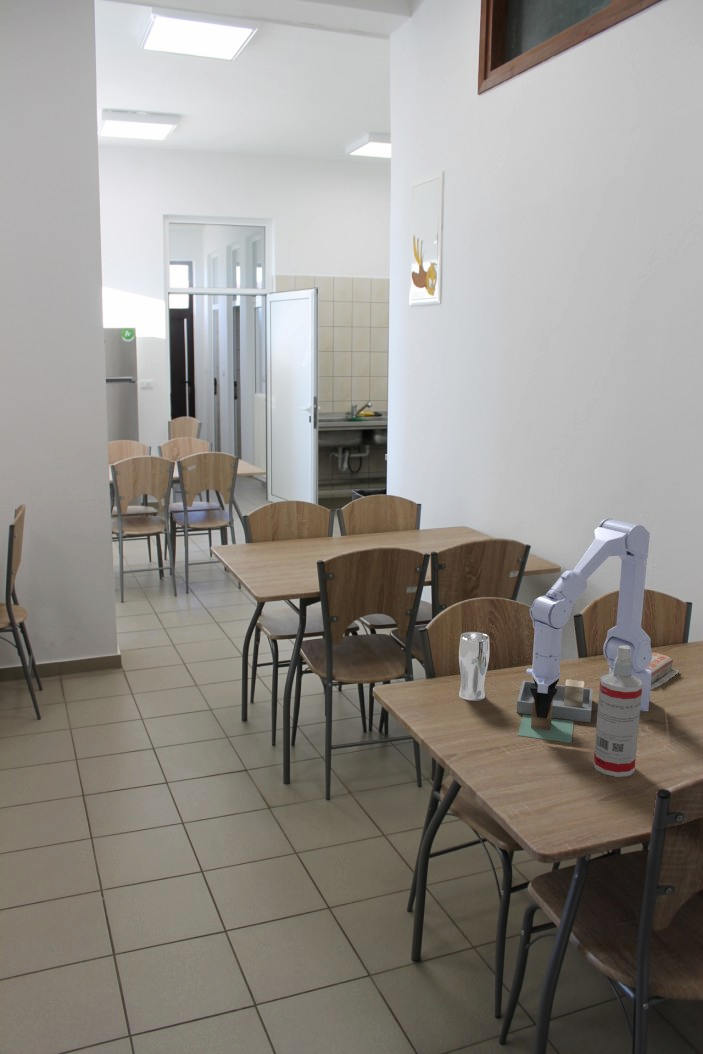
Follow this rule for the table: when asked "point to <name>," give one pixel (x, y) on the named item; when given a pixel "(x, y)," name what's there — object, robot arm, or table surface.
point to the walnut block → (541, 722)
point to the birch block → (574, 693)
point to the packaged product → (661, 669)
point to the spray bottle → (618, 718)
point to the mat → (557, 732)
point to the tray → (556, 703)
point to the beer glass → (473, 665)
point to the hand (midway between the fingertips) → (542, 712)
